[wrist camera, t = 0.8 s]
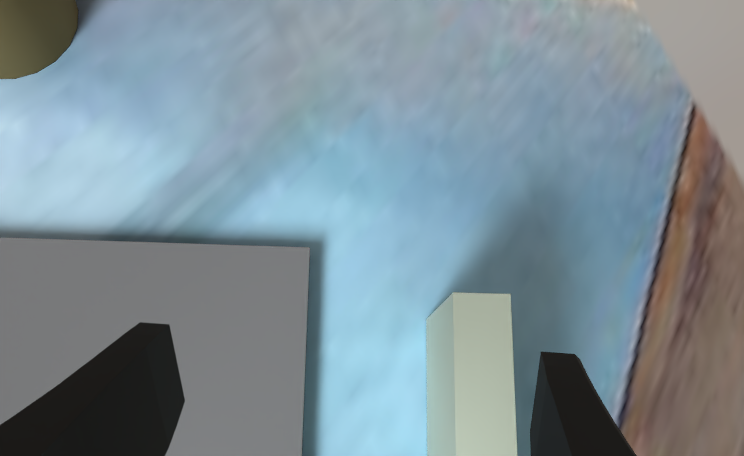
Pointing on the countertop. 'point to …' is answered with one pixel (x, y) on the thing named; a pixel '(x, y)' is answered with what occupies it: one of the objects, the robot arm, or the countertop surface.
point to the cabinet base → (187, 324)
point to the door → (471, 377)
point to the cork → (34, 34)
